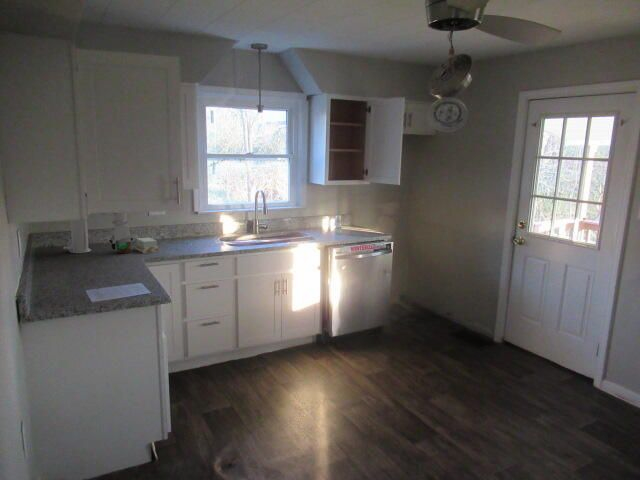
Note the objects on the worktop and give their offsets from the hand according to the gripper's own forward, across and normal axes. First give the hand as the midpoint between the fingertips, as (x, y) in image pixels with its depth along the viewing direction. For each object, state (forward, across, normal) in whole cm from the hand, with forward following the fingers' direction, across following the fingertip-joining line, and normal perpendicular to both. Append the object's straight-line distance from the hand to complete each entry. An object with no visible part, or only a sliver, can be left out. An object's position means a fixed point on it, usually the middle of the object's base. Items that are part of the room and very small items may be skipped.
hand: (121, 248), depth 309 cm
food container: (+3, 0, 0) cm, 3 cm away
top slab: (0, +17, +1) cm, 17 cm away
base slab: (+4, +17, 0) cm, 17 cm away
